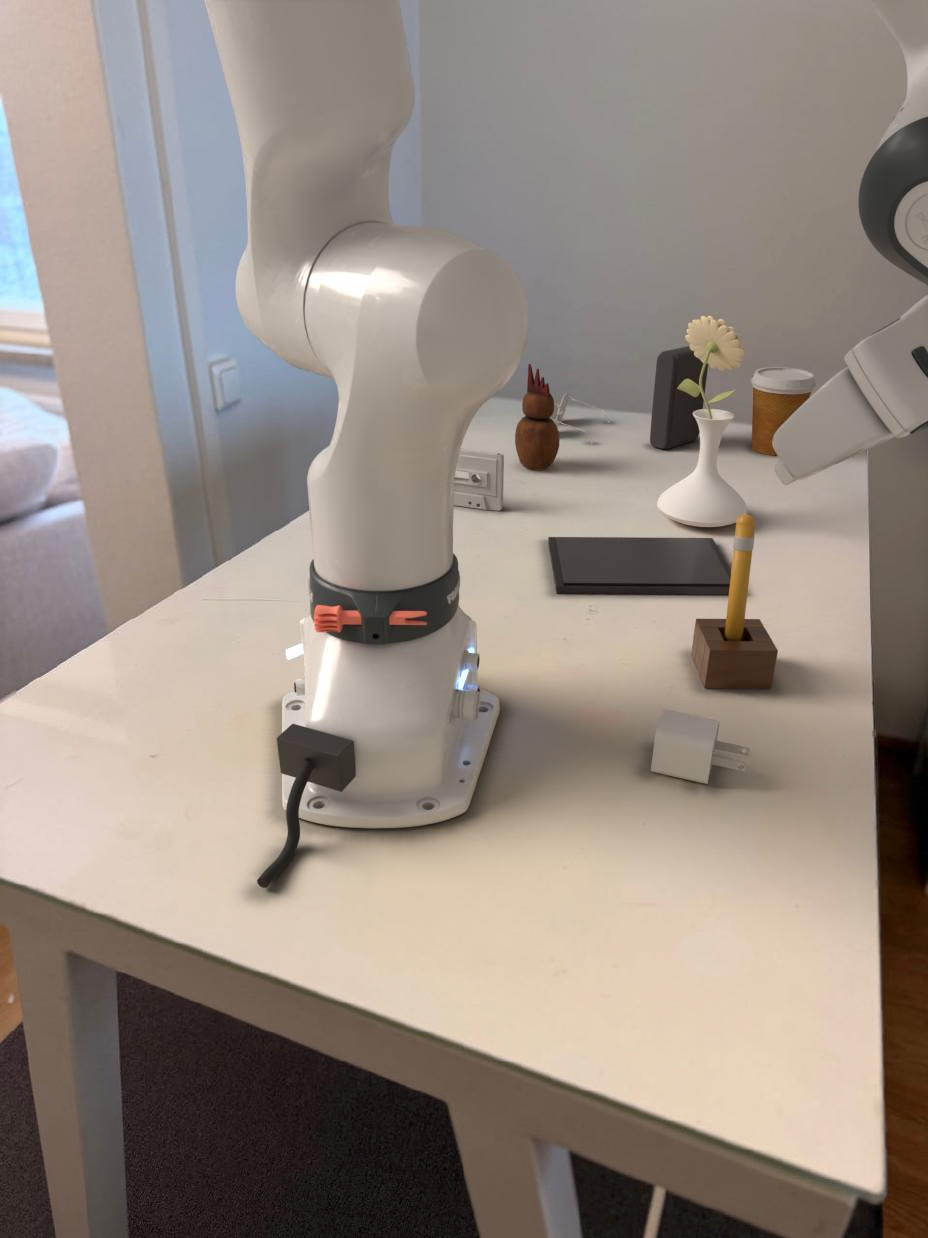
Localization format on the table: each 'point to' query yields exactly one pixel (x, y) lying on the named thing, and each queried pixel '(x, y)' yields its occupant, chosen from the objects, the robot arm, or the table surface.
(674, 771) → the usb wall charger
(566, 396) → the clear eyeglasses
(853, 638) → the table surface
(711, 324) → the flower in vase
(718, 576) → the tablet
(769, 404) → the disposable coffee cup
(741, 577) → the stylus
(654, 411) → the card reader
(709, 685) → the pen holder
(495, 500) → the cassette
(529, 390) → the wooden figurine
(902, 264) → the robot arm
